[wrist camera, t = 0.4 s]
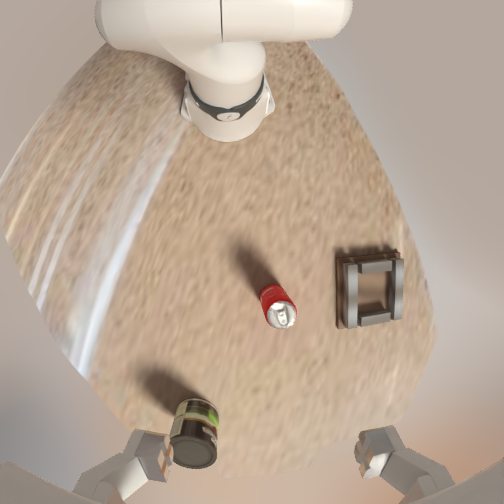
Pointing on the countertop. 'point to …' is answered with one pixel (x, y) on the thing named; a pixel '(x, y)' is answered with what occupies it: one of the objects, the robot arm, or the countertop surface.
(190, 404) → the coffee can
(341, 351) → the countertop surface
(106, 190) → the countertop surface
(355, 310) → the socket block
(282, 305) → the beverage can
